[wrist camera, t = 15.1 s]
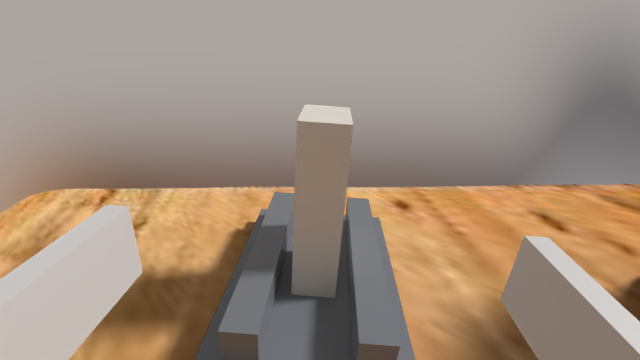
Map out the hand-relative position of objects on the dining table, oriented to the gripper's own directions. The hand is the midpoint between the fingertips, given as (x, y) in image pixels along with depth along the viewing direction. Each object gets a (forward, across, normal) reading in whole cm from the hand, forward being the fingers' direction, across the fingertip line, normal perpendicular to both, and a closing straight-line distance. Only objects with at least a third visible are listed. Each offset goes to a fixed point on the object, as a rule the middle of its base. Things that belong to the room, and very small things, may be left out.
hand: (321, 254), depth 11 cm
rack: (+10, 0, -11) cm, 15 cm away
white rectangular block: (+10, 0, -9) cm, 14 cm away
